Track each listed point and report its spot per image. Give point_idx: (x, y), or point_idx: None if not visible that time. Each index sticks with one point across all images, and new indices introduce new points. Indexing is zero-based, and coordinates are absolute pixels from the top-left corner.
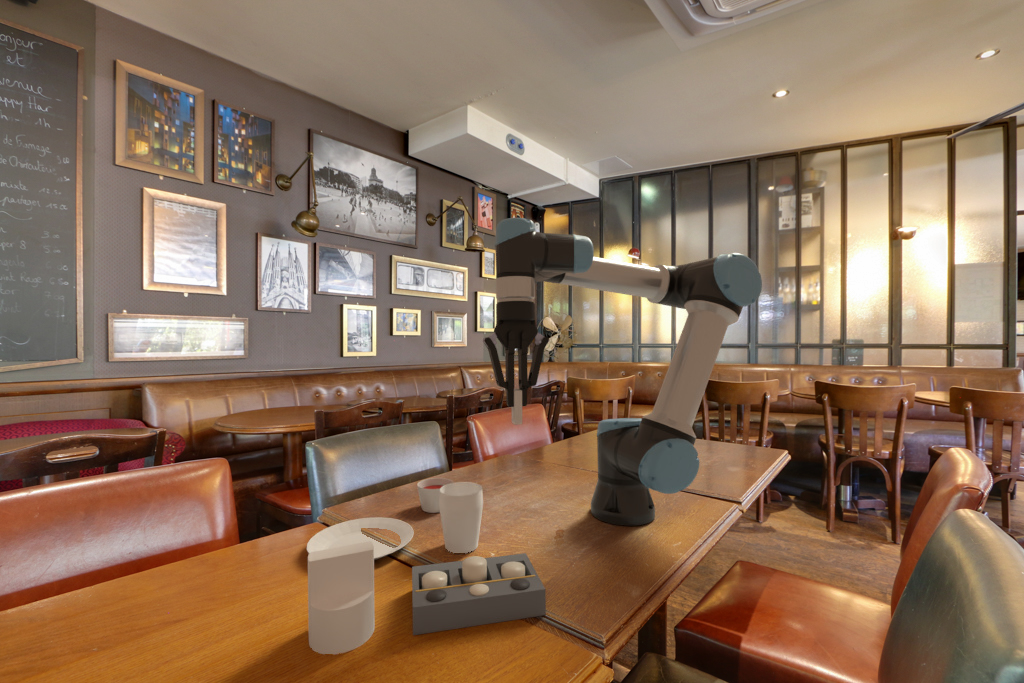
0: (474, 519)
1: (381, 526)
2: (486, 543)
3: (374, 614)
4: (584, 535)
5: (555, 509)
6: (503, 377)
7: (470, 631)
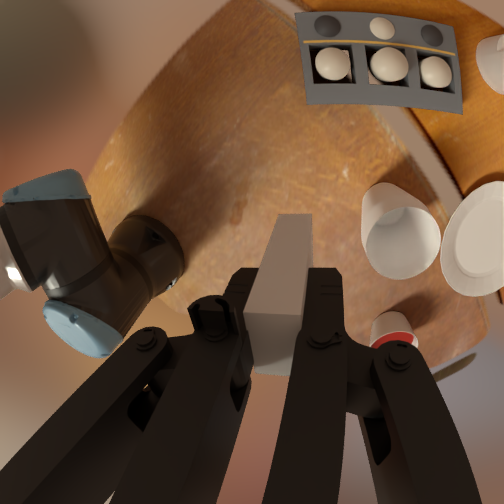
0: (379, 195)
1: (464, 279)
2: (348, 206)
3: (482, 63)
4: (204, 201)
5: None
6: (391, 406)
7: None
